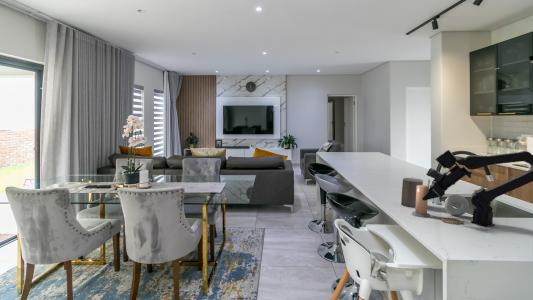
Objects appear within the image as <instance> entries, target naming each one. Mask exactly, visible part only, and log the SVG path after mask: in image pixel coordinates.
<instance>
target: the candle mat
mask: <svg viewBox="0 0 533 300" xmlns="http://www.w3.org/2000/svg"><path fill="white" fill-rule="evenodd" d="M411 215H412V216H415V217H419V218H429V217H430V216H431V214H430V213H429V212H427V215H418V214H416V213H415V210H414V211H412V212H411Z"/></svg>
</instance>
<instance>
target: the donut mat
mask: <svg viewBox="0 0 533 300" xmlns="http://www.w3.org/2000/svg"><path fill="white" fill-rule="evenodd" d="M440 219H441V222H444V223H445V224H450V225H451V224H452V225H460V224H462V221H461V220H460V219H458V218H454V217H441V218H440Z"/></svg>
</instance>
